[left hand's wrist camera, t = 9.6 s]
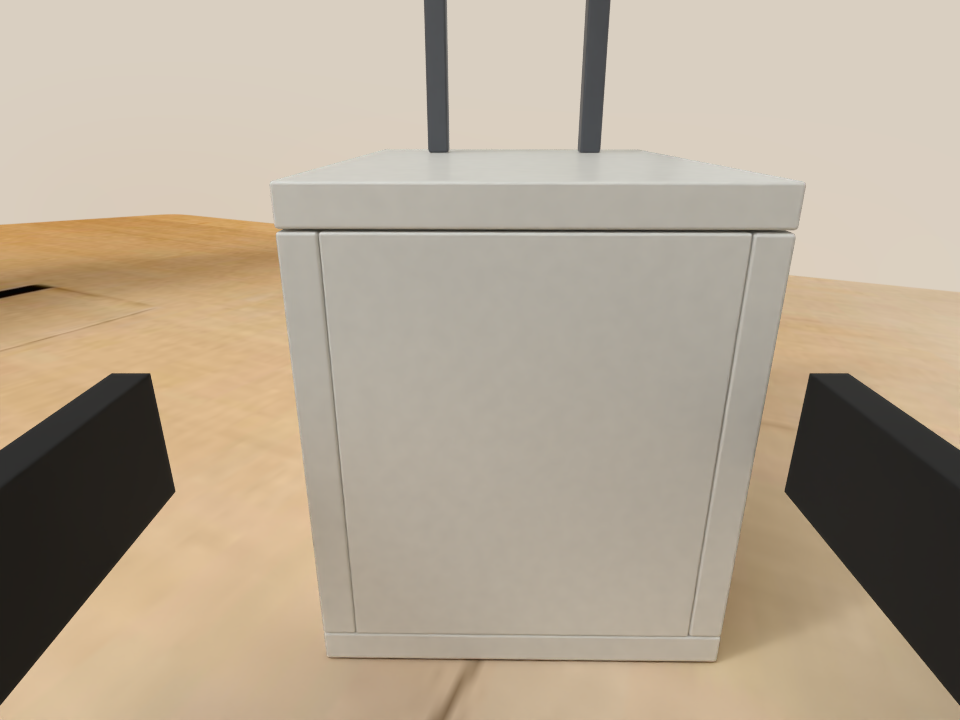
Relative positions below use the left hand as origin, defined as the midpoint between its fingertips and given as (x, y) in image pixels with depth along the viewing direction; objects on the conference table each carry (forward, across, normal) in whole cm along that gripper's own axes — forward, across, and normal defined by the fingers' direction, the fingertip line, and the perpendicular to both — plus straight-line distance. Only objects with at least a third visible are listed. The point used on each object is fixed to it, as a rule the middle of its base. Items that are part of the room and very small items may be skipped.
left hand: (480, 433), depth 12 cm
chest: (+7, +1, -7) cm, 10 cm away
